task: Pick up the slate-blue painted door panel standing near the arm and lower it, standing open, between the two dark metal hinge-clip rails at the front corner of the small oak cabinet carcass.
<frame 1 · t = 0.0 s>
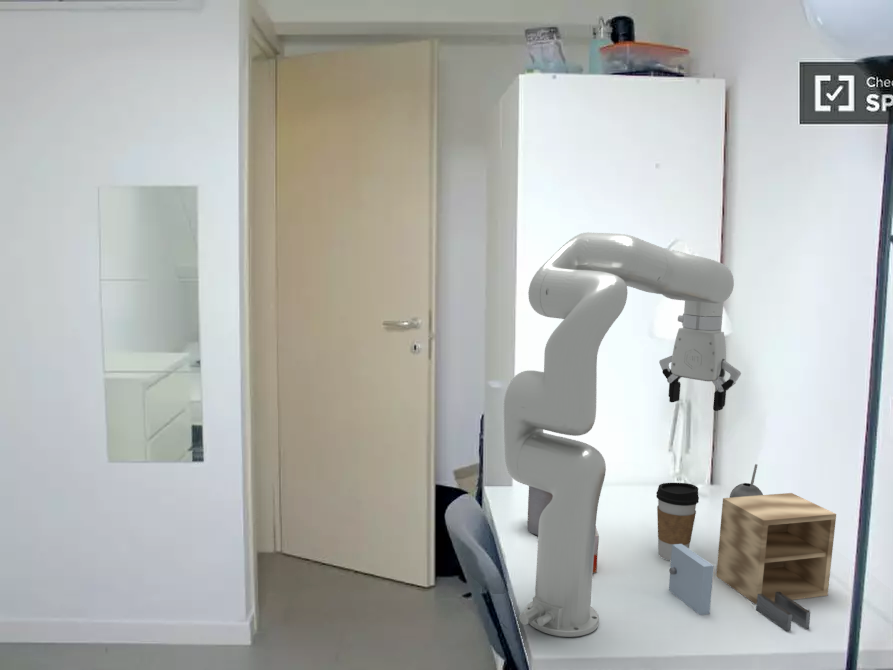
hand: (695, 405, 169), 31 cm above the table, tool pointing down, fingers open, 9 cm apart
door panel: (688, 601, 149), on the table
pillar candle: (548, 531, 181), on the table
coffee cup: (672, 556, 170), on the table
medicine box: (572, 558, 168), on the table
beverage cup: (741, 556, 171), on the table
cabinet: (770, 585, 157), on the table
hinge clips: (781, 618, 144), on the table
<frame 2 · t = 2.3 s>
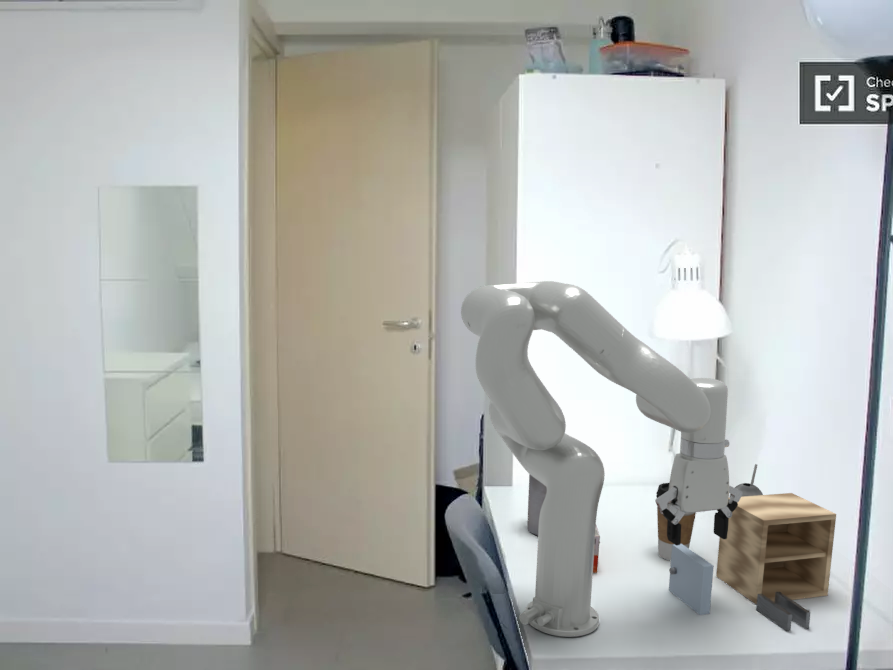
hand: (697, 539, 148), 12 cm above the table, tool pointing down, fingers open, 9 cm apart
nothing on the table moved.
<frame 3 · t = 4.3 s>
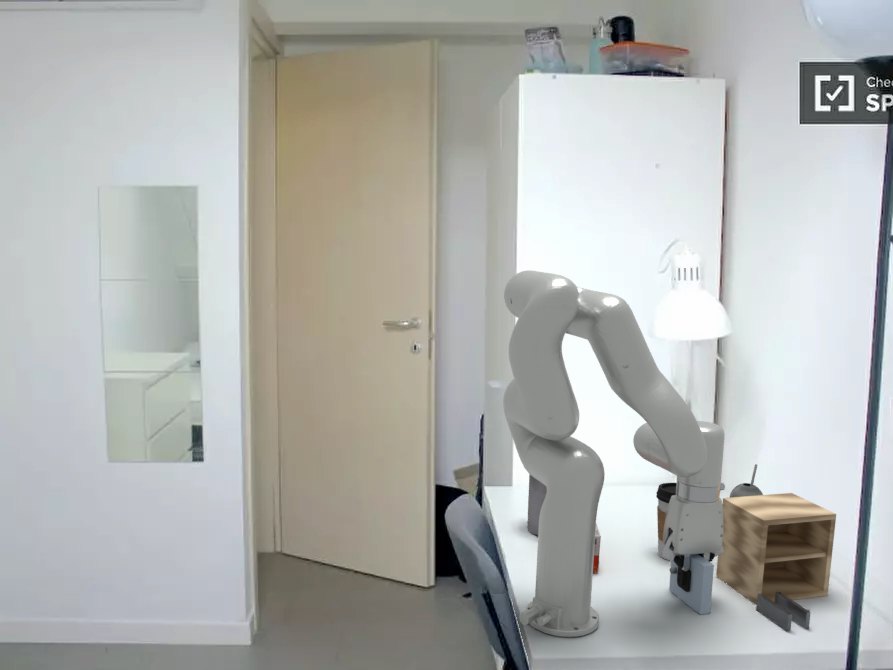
hand: (690, 587, 149), 3 cm above the table, tool pointing down, fingers closed on door panel, 2 cm apart
door panel: (688, 601, 149), on the table, touching gripper
everything else where it was.
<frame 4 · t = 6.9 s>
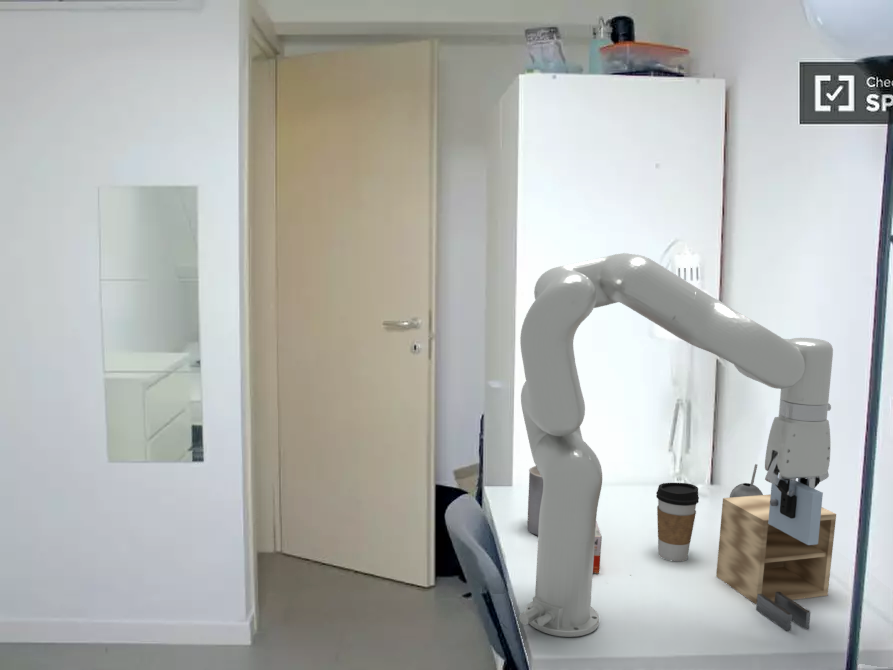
hand: (793, 514, 141), 19 cm above the table, tool pointing down, fingers closed on door panel
door panel: (792, 533, 142), point 16 cm above the table, touching gripper
everything else where it was.
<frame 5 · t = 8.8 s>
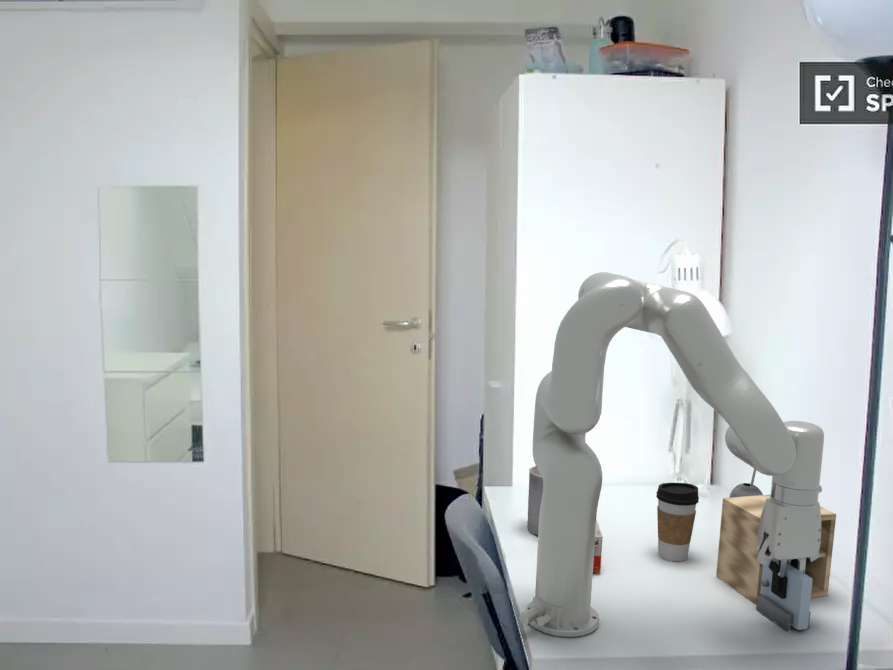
hand: (784, 593, 143), 5 cm above the table, tool pointing down, fingers closed on door panel, 2 cm apart
door panel: (782, 615, 144), point 1 cm above the table, touching gripper
everything else where it was.
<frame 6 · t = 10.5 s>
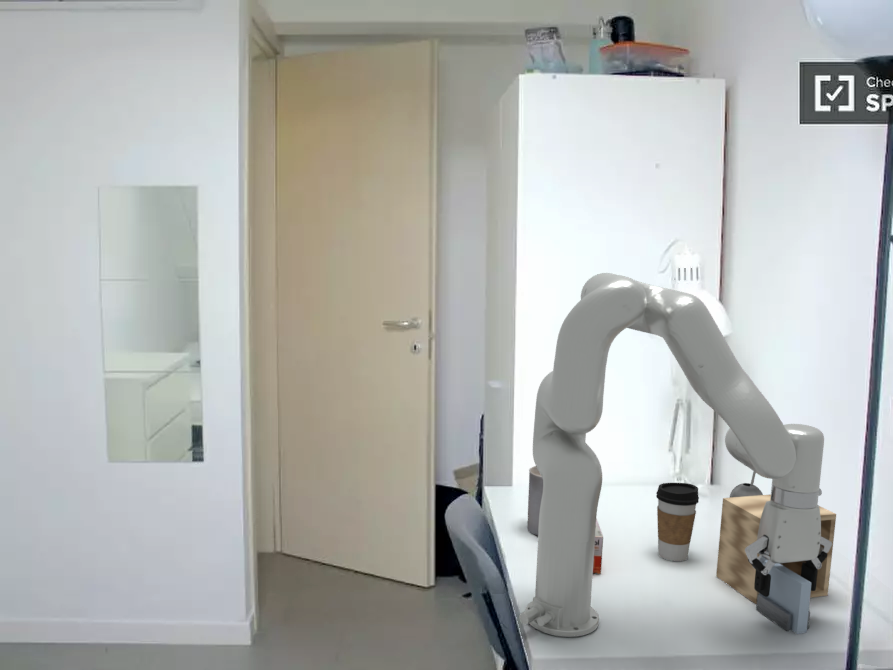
hand: (784, 590, 143), 5 cm above the table, tool pointing down, fingers open, 9 cm apart
door panel: (781, 619, 144), on the table
everything else where it was.
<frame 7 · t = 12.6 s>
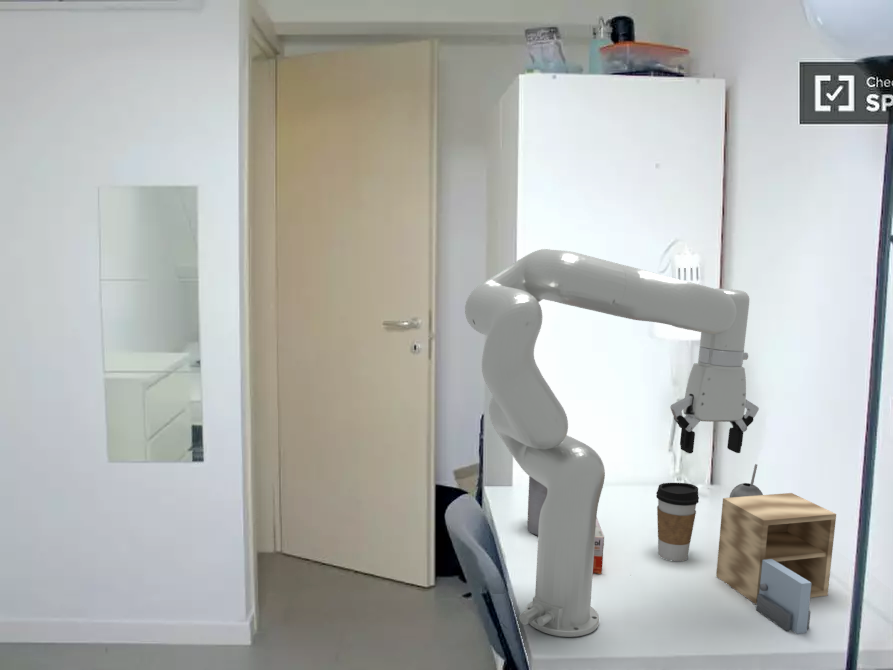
hand: (710, 451, 148), 28 cm above the table, tool pointing down, fingers open, 9 cm apart
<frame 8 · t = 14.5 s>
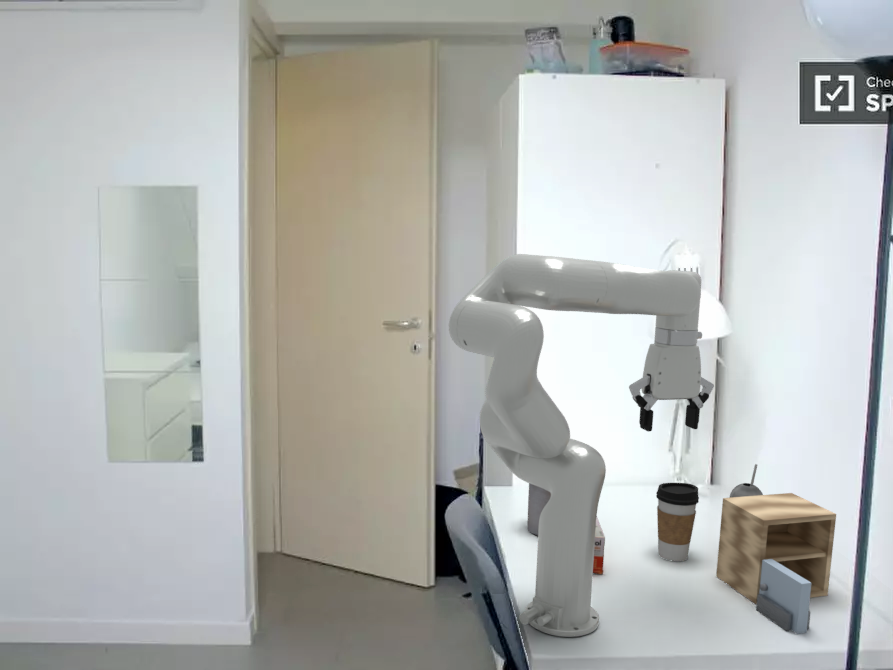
hand: (668, 428, 153), 30 cm above the table, tool pointing down, fingers open, 9 cm apart
at the end: door panel 0.1 cm from the hinge clips (horizontally); door panel tilted 0°; door panel on the table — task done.
